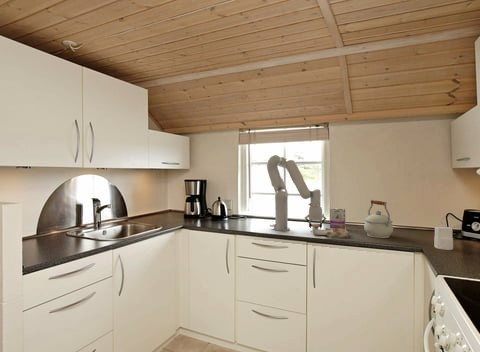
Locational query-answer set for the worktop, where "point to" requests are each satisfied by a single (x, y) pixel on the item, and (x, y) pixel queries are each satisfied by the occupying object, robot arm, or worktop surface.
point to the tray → (320, 231)
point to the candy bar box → (337, 218)
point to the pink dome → (315, 225)
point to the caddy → (338, 233)
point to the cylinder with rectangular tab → (443, 238)
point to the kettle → (378, 223)
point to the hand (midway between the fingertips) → (315, 228)
